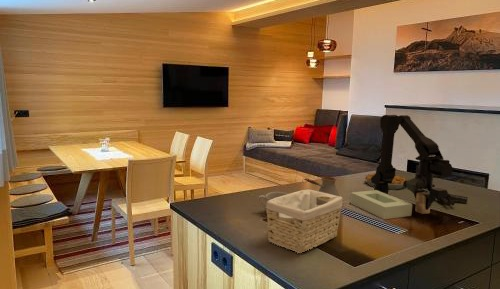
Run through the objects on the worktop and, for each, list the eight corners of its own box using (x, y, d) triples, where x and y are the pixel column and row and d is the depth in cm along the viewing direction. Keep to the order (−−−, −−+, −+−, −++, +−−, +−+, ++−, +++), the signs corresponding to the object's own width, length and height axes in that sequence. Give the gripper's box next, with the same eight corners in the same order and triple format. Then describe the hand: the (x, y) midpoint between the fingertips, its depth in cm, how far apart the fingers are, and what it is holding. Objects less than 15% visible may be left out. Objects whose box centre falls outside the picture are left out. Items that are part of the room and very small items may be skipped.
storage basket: (304, 224, 139) (306, 187, 137) (343, 237, 128) (345, 196, 125) (262, 243, 122) (263, 200, 120) (302, 259, 111) (304, 212, 108)
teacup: (293, 211, 153) (294, 193, 152) (287, 220, 143) (288, 200, 142) (262, 207, 158) (262, 189, 157) (254, 215, 148) (254, 196, 146)
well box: (350, 203, 166) (351, 192, 165) (375, 200, 171) (376, 190, 170) (384, 219, 146) (385, 207, 145) (411, 215, 151) (412, 203, 150)
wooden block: (415, 211, 157) (416, 193, 155) (422, 210, 158) (423, 192, 157) (422, 214, 153) (424, 195, 152) (429, 213, 154) (431, 194, 153)
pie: (410, 183, 204) (410, 175, 203) (403, 192, 185) (403, 183, 185) (370, 178, 215) (370, 170, 214) (359, 186, 197) (360, 177, 196)
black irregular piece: (477, 202, 157) (465, 192, 171) (429, 194, 160) (421, 185, 175) (475, 213, 158) (462, 203, 172) (427, 205, 161) (419, 196, 176)
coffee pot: (325, 201, 168) (327, 169, 166) (346, 208, 159) (348, 174, 157) (292, 210, 155) (293, 175, 153) (312, 218, 146) (314, 181, 144)
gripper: (394, 168, 159) (391, 203, 161) (429, 178, 141) (425, 217, 144) (414, 167, 163) (411, 200, 165) (450, 176, 145) (446, 214, 148)
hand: (422, 207), depth 155 cm, fingers closed on wooden block, 4 cm apart
